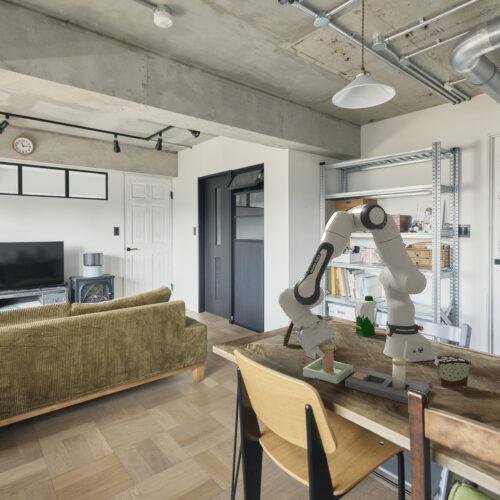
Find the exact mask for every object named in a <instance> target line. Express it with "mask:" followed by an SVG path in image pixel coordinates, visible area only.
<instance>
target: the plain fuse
mask: <svg viewBox="0 0 500 500" xmlns="http://www.w3.org/2000/svg"><path fill="white" fill-rule="evenodd" d="M391 361H392V373H391V374H392V375H391V376H392V387H391V388H394V389H398V390H401V391H405V390H406V389H405V379H406V368H407V367H406V365H407V361H406V359H404V358H399V357H394V358H392V359H391Z"/></svg>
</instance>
